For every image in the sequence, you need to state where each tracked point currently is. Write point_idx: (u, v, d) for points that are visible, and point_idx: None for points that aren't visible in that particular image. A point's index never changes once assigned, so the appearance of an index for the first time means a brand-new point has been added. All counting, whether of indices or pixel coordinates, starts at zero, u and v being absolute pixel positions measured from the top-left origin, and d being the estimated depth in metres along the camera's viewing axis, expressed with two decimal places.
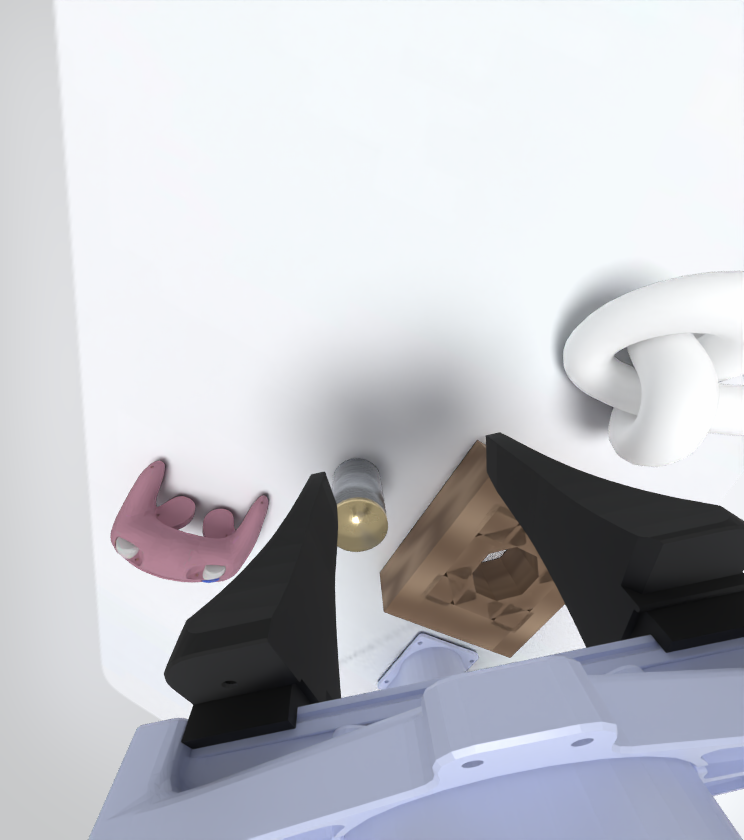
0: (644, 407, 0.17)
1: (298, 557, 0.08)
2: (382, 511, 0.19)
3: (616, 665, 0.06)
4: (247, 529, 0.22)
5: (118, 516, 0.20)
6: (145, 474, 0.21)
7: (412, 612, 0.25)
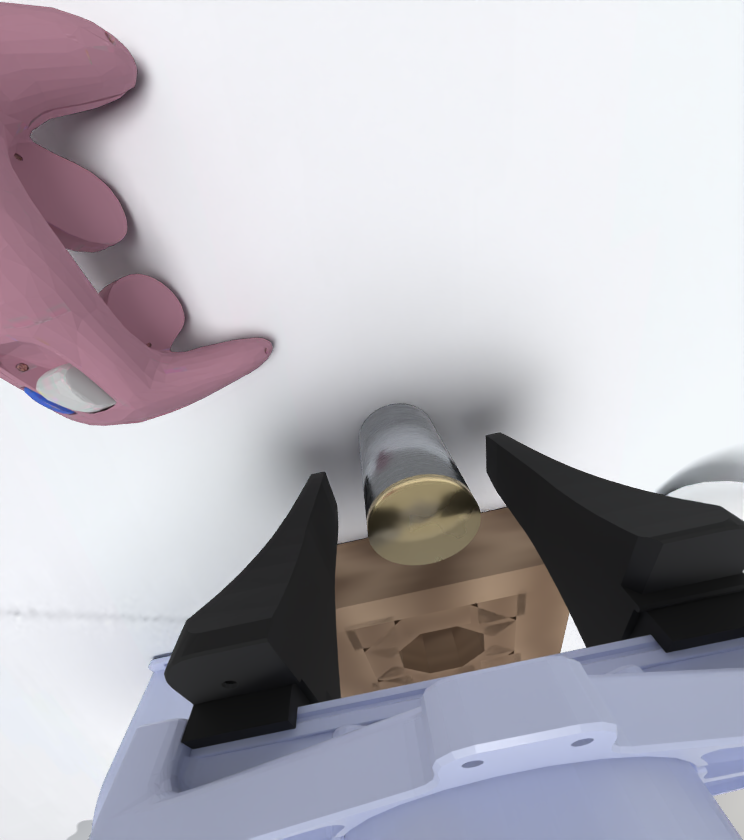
0: None
1: (298, 557, 0.08)
2: (474, 531, 0.11)
3: (616, 665, 0.06)
4: (212, 370, 0.10)
5: None
6: (79, 25, 0.07)
7: None
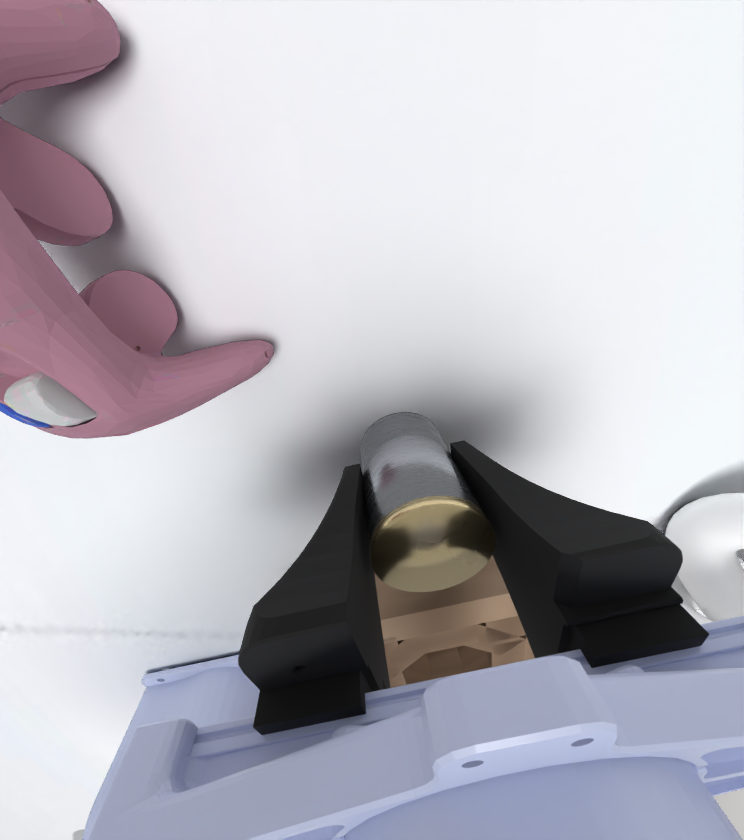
0: None
1: (353, 545, 0.08)
2: None
3: (616, 665, 0.06)
4: (207, 376, 0.09)
5: None
6: None
7: None
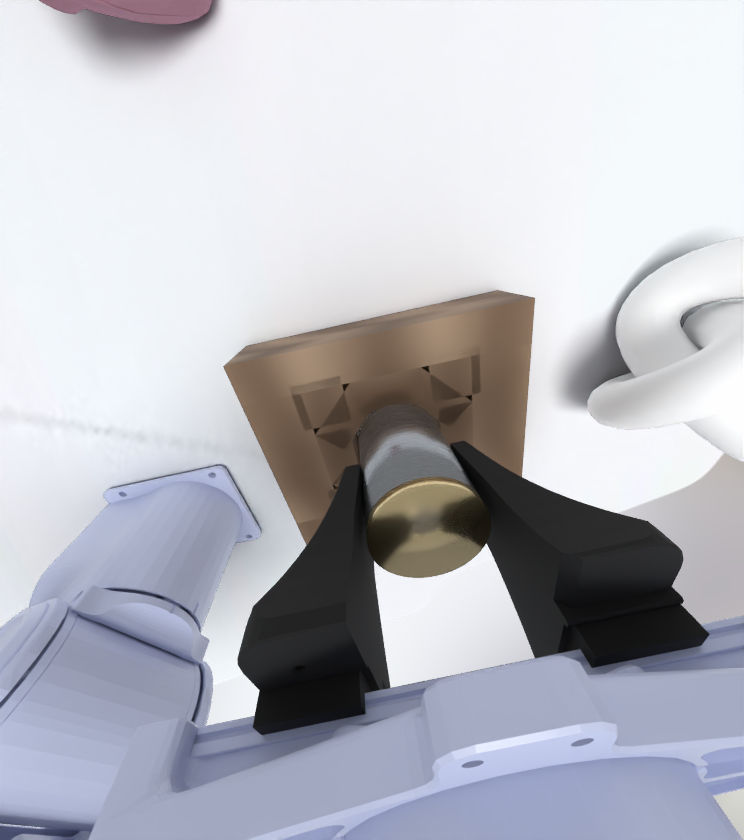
0: (722, 341, 0.13)
1: (352, 545, 0.08)
2: None
3: (616, 665, 0.06)
4: None
5: None
6: None
7: (259, 401, 0.16)
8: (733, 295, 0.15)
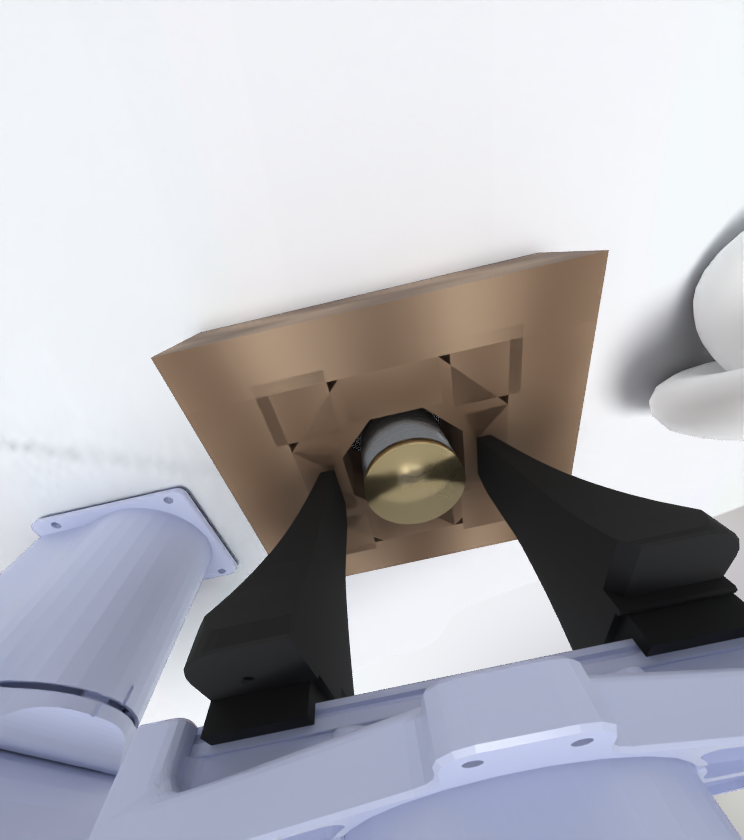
0: None
1: (313, 554, 0.08)
2: None
3: (616, 665, 0.06)
4: None
5: None
6: None
7: (209, 408, 0.11)
8: None
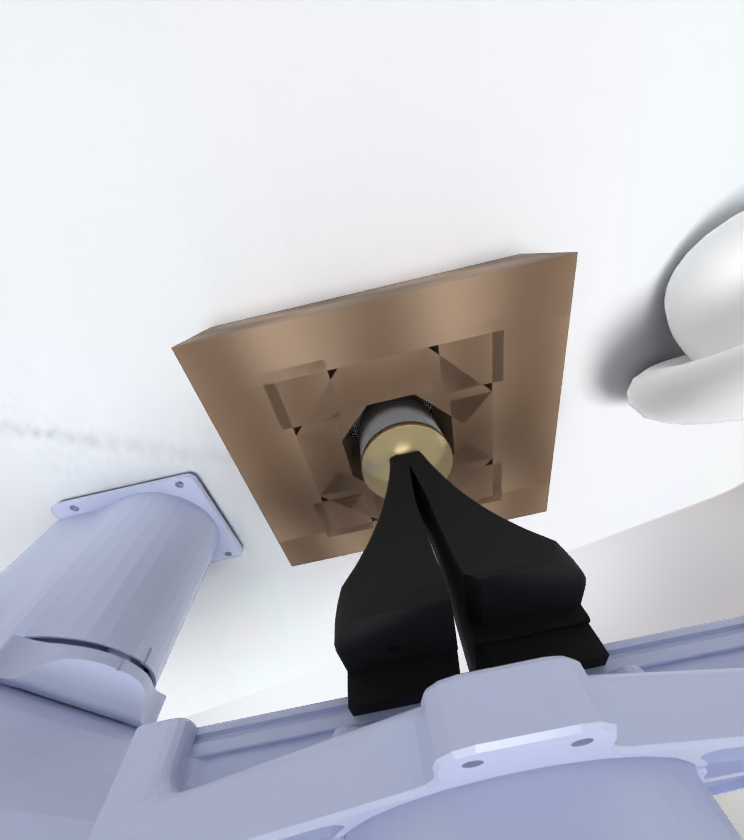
0: None
1: (425, 529, 0.08)
2: (448, 471, 0.13)
3: (616, 665, 0.06)
4: None
5: None
6: None
7: (222, 393, 0.12)
8: None
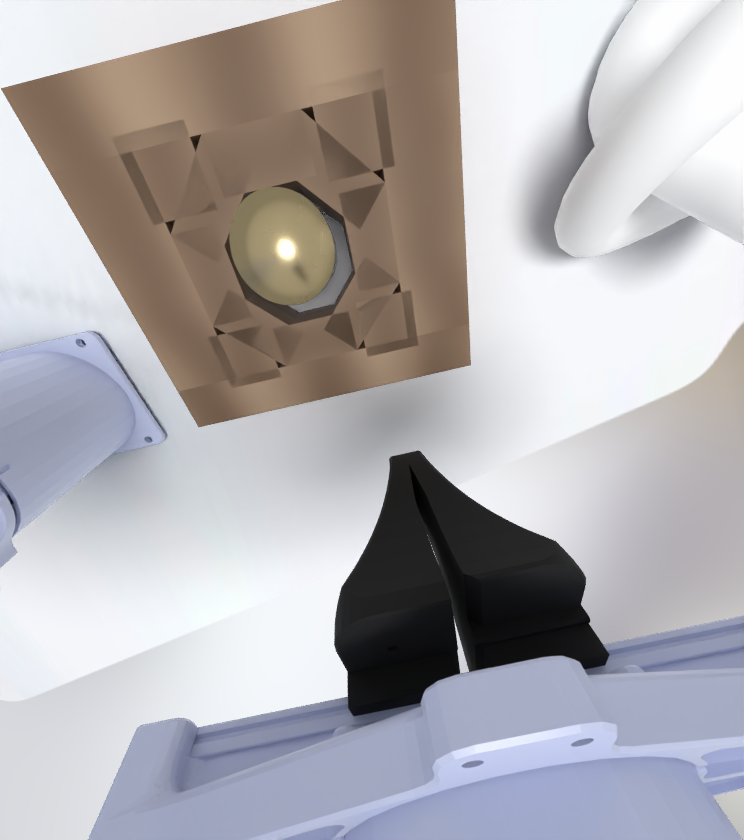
0: None
1: (425, 529, 0.08)
2: (333, 264, 0.12)
3: (616, 665, 0.06)
4: None
5: None
6: None
7: (73, 164, 0.11)
8: None
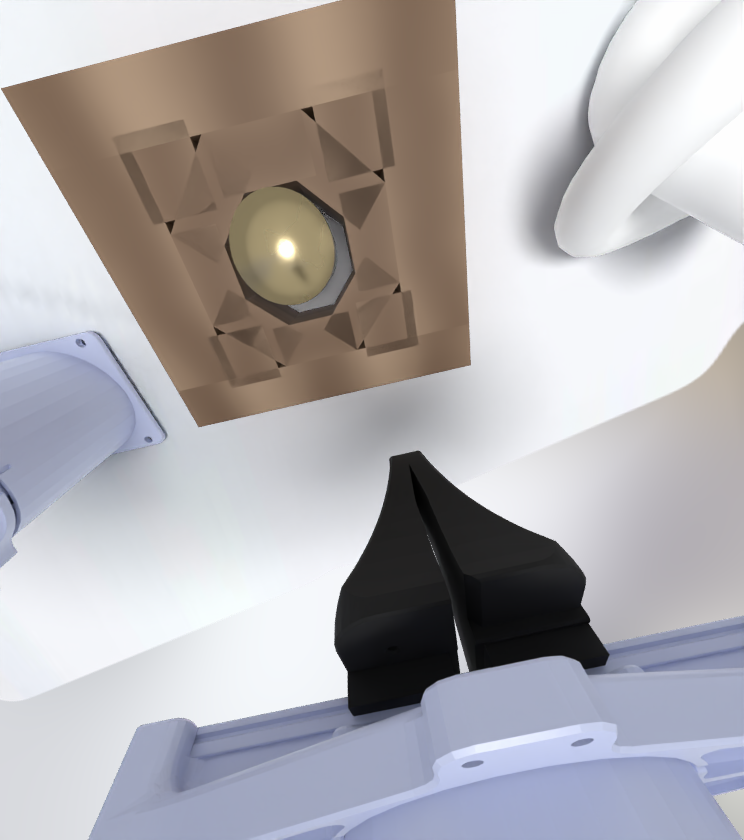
0: None
1: (425, 529, 0.08)
2: (333, 263, 0.12)
3: (616, 665, 0.06)
4: None
5: None
6: None
7: (73, 164, 0.11)
8: None
